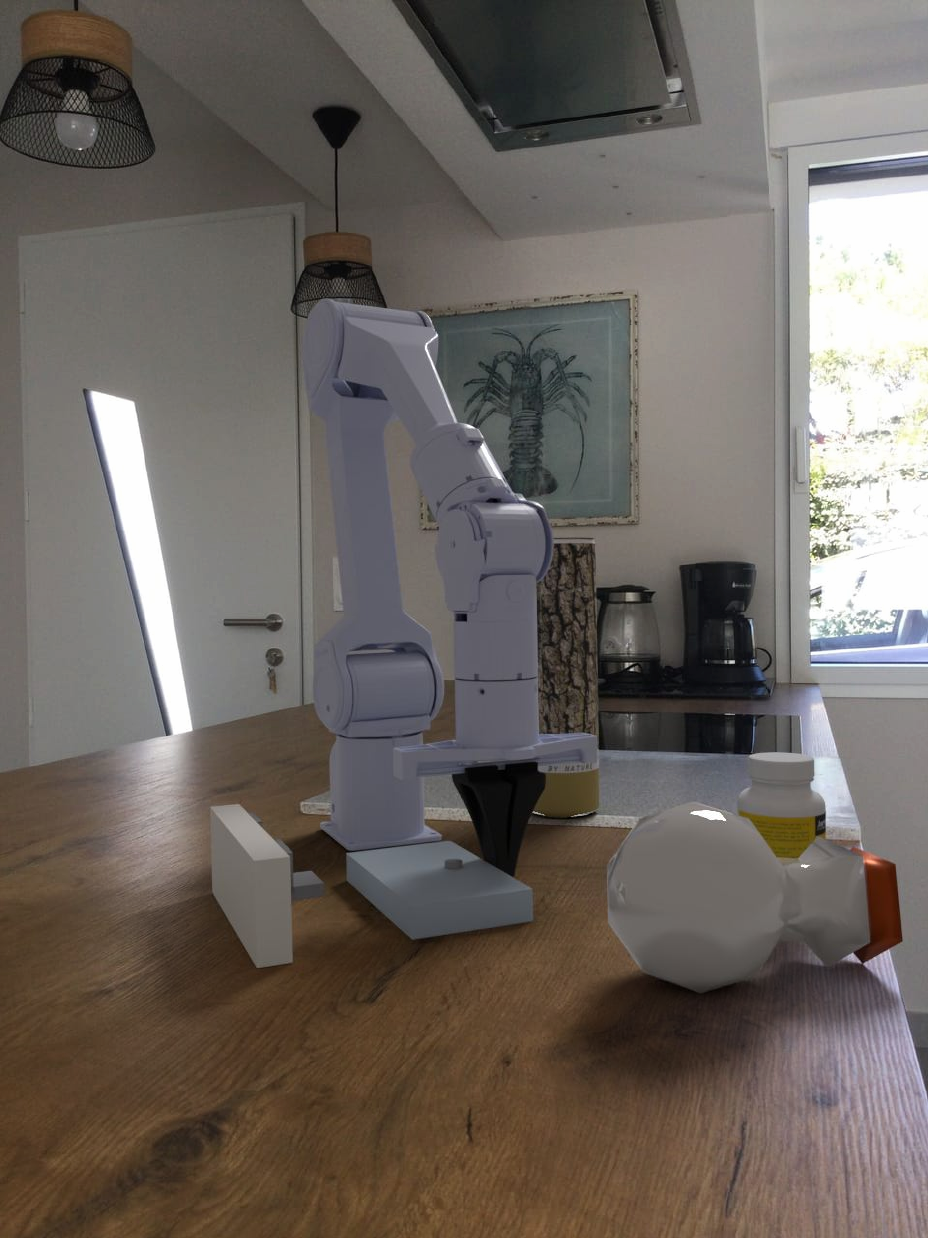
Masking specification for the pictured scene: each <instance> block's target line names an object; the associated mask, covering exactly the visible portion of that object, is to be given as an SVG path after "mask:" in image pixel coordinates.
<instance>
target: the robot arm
mask: <svg viewBox="0 0 928 1238" xmlns="http://www.w3.org/2000/svg"><path fill="white" fill-rule="evenodd" d="M438 352H439V334H438V333H437V331H436V330H435V327H434V325H433V322H432V320H431V318H430V317H429V315H428V314H427V313H426V312H424V311H422V310H411V311H409V310H402V309H401V310H400V309H393V308H385V307H379V306H371V305H362V304H354V303H348V302H340V301H335V300H334V299H332V298H321V299H320V300H318V302H316V303H315V305H314V306H313V307H312V308H311V310H310V311H309V313H308V316H307V319H306V321H305V327H304V333H303V336H302V340H301V357H302V359H301V360H302V369H303V378H304V379H303V380H304V386H305V394H306V395H307V404H308V409H309V411H311V412H312V413H314V415H316V416H318V418H320V419H321V420H323V427H324V437H325V446H326V447H325V448H326V457H327V466H328V477H329V486H330V496H331V505H332V513H333V514H332V515H333V523H334V524H333V525H334V535H335V543H336V555H337V563H338V573H339V582H340V583H339V584H340V592H341V593H340V594H341V601H342V612H343V615H342V617H341V618H340V619H339V620H338V621H337V622H336V623H334V625H332V626H331V627H330V628H329V629H328V630H327V631H325V633H323V634H322V635H321V637H320V638H319V639H318V641H317V642H316V644H315V645H314V673H313V679H312V699H313V704H314V709H315V712H316V715H317V717H318V719H319V720H320V721H321V723H322V724H323V726H325V727H326V729H327V730H328V732H329V733H332V734H335V735H336V737H335V738H336V740H335V742H334V743H333V746H332V748H331V750H330V754H329V791H330V792H329V793H330V796H329V797H330V799H329V800H330V820H329V821H322V822H320V823H319V828H320V829H321V830H323V831H324V832H325V833H326V834H327V835H329V836H330V837H331V838H332V839H334V840H335V841H336V842H337V843H338V844H340V845H341V846H342V847H344V848H345V849H346V850H347V851H351V852H357V851H366V850H374V849H383V848H391V847H400V846H408V845H417V844H425V843H434V842H441V841H442V837H443V836H442V834H441V833H439V832H438V831H437V830H434V829H433V828H432V827H429V826H428V825H426V824H425V787H424V786H425V783H424V782H425V781H424V779H425V777H426V778H428V777H437V776H446V775H447V776H448V775H451V779H452V783H453V786H454V787H455V788H456V790H457V792H458V794H459V796H460V797H461V800H462V802H463V804H464V806H465V808H466V810H467V812H468V815H469V816H470V819H471V822H472V824H473V828H474V830H475V834H476V837H477V839H478V843H479V848H480V850H481V856H482V860H484V861H486V862H487V863H489V864H491V865H493V866H494V867H496V868H498V869H499V870H501V871H503V872H505V873H506V874H508V875H510V876H511V877H513V878H515V875H516V869H517V865H518V859H519V856H520V850H521V846H522V842H523V839H524V836H525V832H526V829H527V827H528V824H529V822H530V819H531V816H532V815H533V813H532V812H533V810H534V808H535V806H536V804H537V802H538V800H539V798H540V796H541V794H542V793H543V791H544V789H545V786H546V774H545V773H543V772H540V771H538V766H546V765H557V764H568V763H578V762H581V763H583V764H589V763H597V736H595V735H591V734H587V733H570V734H539V708H538V677H537V676H538V647H537V590H536V583H538V582H539V581H541V580H542V579H543V578H544V576H545V575H546V573H547V572H548V570H549V567H550V565H551V561H552V557H553V549H554V540H553V538H554V534H553V527H552V524H551V522H550V519H549V517H548V515H547V511H546V508H544V506H543V505H541V504H540V503H539V502H537V501H534V500H528V499H526V498H525V497H524V495H523V494H522V493H515V492H514V491H513V490H512V488H511V486H510V485H509V483H508V481H507V479H506V477H505V476H504V474H503V472H502V469H501V468H500V466H499V465H498V463H497V461H496V459H495V458H494V455H493V454H492V452H491V450H490V448H489V446H488V445H487V443H486V441H485V438H484V436H483V435H482V432H481V431H480V429H479V428H475V427H474V426H472V425H470V424H469V423H463V422H458V419H457V417H456V415H455V413H454V410H453V407H452V405H451V402H450V399H449V397H448V395H447V393H446V390H445V388H444V385H443V383H442V380H441V378H440V376H439V373H438V370H437V368H436V366H437V360H438ZM397 420H399V421H400V422H401V423H402V425H403V427H404V429H405V430H406V431H407V433H408V434H409V436H410V437H411V439H412V441H413V443H414V444H415V445H414V447H413V449H412V451H411V454H410V458H409V465H410V470H411V472H412V475H413V477H414V479H415V481H416V482H417V486H418V487H419V489H420V490H421V492H422V495H423V496H424V499H425V502H426V503H427V505H428V507H429V509H430V511H431V514H432V515H433V518H434V519H435V522H436V523H437V526H438V533H437V540H436V544H434V552H435V553H434V554H435V555H434V556H435V560H436V565H437V568H438V571H439V574H440V576H441V578H442V581H443V586H444V603H446V608H447V610H448V611H449V612H453V655H454V656H453V657H454V658H453V660H454V662H453V663H454V705H455V706H454V708H455V709H454V711H455V712H454V713H455V718H454V719H455V739H450V740H444V741H438V742H432V743H431V742H430V743H425V744H424V741H423V740H424V736H423V733H424V732H423V731H428V730H429V731H430V730H431V721H433V720H434V719H435V718H436V717H437V715H438V714H439V711H440V709H441V708H442V705H443V701H444V695H445V679H444V674H443V671H442V667H441V666H440V663H439V661H438V659H437V656H436V652H435V649H434V644H433V637H432V633H431V632H430V631H429V630H428V629H427V628H425V627H424V626H423V625H422V624H420V623H419V622H418V621H416V620H415V619H414V618H413V617H411V616H410V615H409V614H408V613H406V611H404V604H403V596H402V594H403V593H402V587H401V578H400V577H401V576H400V568H399V562H398V561H399V559H398V549H397V542H396V534H395V533H396V531H395V524H394V523H395V522H394V515H393V514H394V513H393V505H392V497H391V496H392V495H391V488H390V479H389V469H388V461H387V460H388V459H387V453H386V452H387V451H386V443H385V429H386V428H387V425H389V424H391V423H393V422H395V421H397ZM380 650H388V652H387V651H386V652H371V653H366V651H380ZM360 651H365V653H350V654H349V652H360ZM389 651H390V652H389Z"/></svg>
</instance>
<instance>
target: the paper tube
mask: <svg viewBox="0 0 928 1238" xmlns="http://www.w3.org/2000/svg"><path fill="white" fill-rule="evenodd" d="M553 540H554V549H553V557H552V561H551V565H550V567H549V570H548V572H547V573H546V575H545V576H544V578H543V579H542V580H541V581H539V582H538V583H536V590H537V647H538V676H537V677H538V708H539V734H570V733H587V734H591V735H595V736H597V763H589V764H583V763H581V762H578V763H568V764H557V765H546V766H538V771H540V772H543V773H545V774H546V786H545V789H544V791H543V793H542V794H541V796H540V798H539V800H538V802H537V804H536V806H535V808H534V810H533V811H535V812H538V813H541V814H544V815H545V816H548V817H547V818H553V817H554V819H568V818H567V817H571V816H574V815H578V814H583V813H587V812H591V811H594V810H596V809H597V810H598V809H599V807H600V749H599V748H600V745H599V744H600V743H599V741H600V739H599V737H600V736H599V735H600V734H599V729H600V728H599V687H598V686H599V681H598V679H599V678H598V668H599V667H598V617H597V616H598V615H597V614H598V612H597V561H596V560H597V559H596V558H597V553H596V550H597V549H596V542H595V537H553ZM558 817H559V818H558Z"/></svg>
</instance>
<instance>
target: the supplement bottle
mask: <svg viewBox="0 0 928 1238" xmlns="http://www.w3.org/2000/svg"><path fill="white" fill-rule="evenodd" d="M747 764H748V765H747V767H748V778H749V780H751V785H750V787H747V788H744V789H743V790H742V791H741V792H740V793H739V794H738V797H737V801H736V802H737V805H736V806H737V807H736V810H737V811H736V812H737V814H736V815H739V816H742V817H745V818H749V819H750V821H751V822H752V823H753V825H754V826H755V828H756V829H757V830H758V832H759V833H760V835H761V836H762V837H763V839H764V840H765V841H766V843H767V844H768V846H769V847H770V849H771V850H772V852H773V853H774V854H775V856H776V857H781V858H799V857H800V856H801V855H802V854H803V852H804V851H805V850H806V849H807V848H808V847H809V846H810V844H811V843H812V842H813V841H814V840H815V839H816V838H817V836H819V837H821V838H823V839H826V840H827V838H826V837H827V832H826V831H827V828H826V827H827V825H826V823H827V820H826V819H827V815H826V814H827V811H826V809H827V808H826V807H827V806H826V801H825V799H824V797H823V796H822V795H821V794H820V793H819V792H817V791H816V790H814V789H812V787H811V783H812V782H814V781H815V778H814V777H815V759H814V757H812V756H810V755H807V754H803V753H794V752H779V751H777V752H776V751H773V752H758V753H753V754H750V755H748V762H747Z"/></svg>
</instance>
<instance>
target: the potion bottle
mask: <svg viewBox="0 0 928 1238" xmlns="http://www.w3.org/2000/svg"><path fill="white" fill-rule="evenodd" d="M606 871H607V874H606V875H607V879H606V880H607V881H606V882H607V885H606V886H607V924H608V925H609V927H610V928H611V929H612V932H614V934H615V935H616V937H618V939H619V941H620V942H621V943H622V945H623V946H624V948H625V949H626V951H627V952H628V954H629V955H630V956H631V958H632V959H633V960H634V962H635V963H636V965H637V966H638V967H639V969H640V971H642V973H644V974H646V975H649V976H651V977H655V978H656V979H660V980H663V981H665V982H668V983H669V984H670V983H671V984H673V985H676V986H679V987H681V988H685V989H687V990H689V991H692V992H695V993H697V994H704V993H707V992H710V991H714V990H716V989H720V988H723V987H726V986H730V985H733V984H735V983H739V982H743V981H746V980H750V979H752V978H756V977H759V974H760V973H761V971H762V970H763V967H764V966H765V964H766V963H767V961H768V959H769V958H770V955H771V954H772V953H773V951H774V949H775V947H776V945H778V942H800V943H802V942H803V943H805V945H806V946H807V947H808V948H809V949H810V950H811V951H812V953H813V954H815V956H816V957H817V958H818V959H819V960H820V961H821V963H822V964H824V966H825V967H826V968H829V967H831V966H832V965H834V964H836V963H838V962H839V961H841V960H843V959H844V958H846V957H848V956H849V955H851V954H853V955H855V957H856V958H857V960H859V961H860V963H861V964H862V965H864V964H865V963H868V962H869V961H871V960H872V959H874V958H875V957H876V958H877V957H878V956H879V955H881V954H884V953H885V952H886V951H888V950H890V949H892V948H893V947H895V946H897V945H900V944H901V943H902V942H903V941H904V939H903V930H902V929H903V928H902V918H901V908H900V898H899V897H900V896H899V888H898V887H899V886H898V875H897V865H896V863H895V862H891V861H889V860H887V859H884V858H882V857H879V856H877V855H874V854H873V853H870V852H868V851H865V850H863V849H861V848H857V847H856V846H852V847H851V848H850V849H849V848H847V847H844V846H842V845H839V844H838V843H835V842H833V841H830V840H828V839H827V838H826V839H823V838H821V837H819V836H817V838H816V839H815V840H814V841H813V842H812V843H811V844H810V846H809V847H808V848H807V849H806V850H805V851H804V852H803V854H802V855H801V856H800V857H799V858H781V857H776V856H775V854H774V853H773V852H772V850H771V849H770V847H769V846H768V844H767V843H766V841H765V840H764V839H763V837H762V836H761V835H760V833H759V832H758V830H757V829H756V828H755V826H754V825H753V823H752V822H751V821H750V819H749V818H745V817H742V816H739V815H737V814H736V813H732V812H729V811H726V810H723V809H719V808H716V807H713V806H710V805H707V804H704V803H700V802H697V801H690V802H686V803H684V804H680V805H676V806H674V807H671V808H668V809H664V810H662V811H658V812H656V813H652V814H650V815H647V816H644V817H640V818H639V819H638V820H637V821H636V823H635V824H634V825H633V827H632V828H631V830H630V831H629V833H628V834H627V835H626V837H625V838H624V840H623V841H622V843H621V844H620V845H619V847H618V848H617V850H616V852H614V854H613V856H612V857H611V858H610V860H609V861H608V862H607V864H606Z"/></svg>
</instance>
